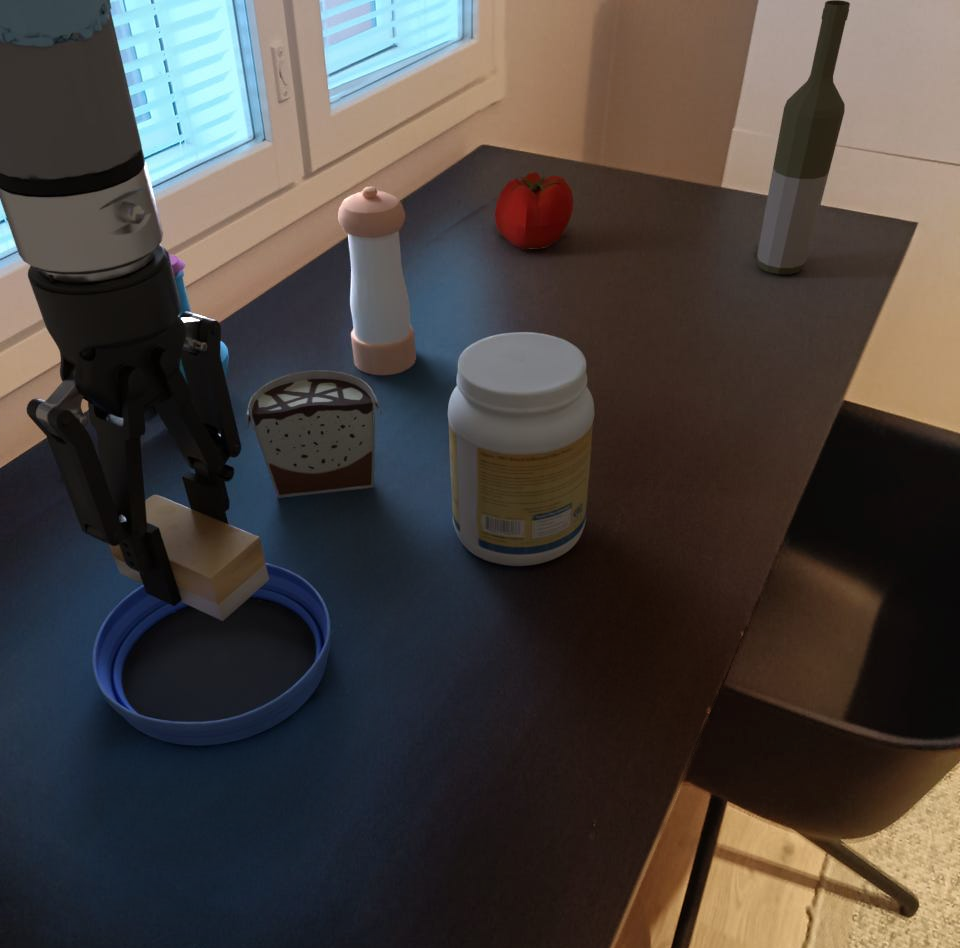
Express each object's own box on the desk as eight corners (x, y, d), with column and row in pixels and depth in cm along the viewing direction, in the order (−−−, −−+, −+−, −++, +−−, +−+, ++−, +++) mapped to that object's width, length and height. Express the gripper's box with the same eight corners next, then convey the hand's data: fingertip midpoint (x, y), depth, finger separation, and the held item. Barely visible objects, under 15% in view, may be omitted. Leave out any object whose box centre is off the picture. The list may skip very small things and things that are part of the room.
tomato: (575, 231, 134) (579, 167, 128) (562, 262, 127) (566, 196, 121) (504, 225, 136) (504, 162, 130) (487, 255, 129) (487, 190, 123)
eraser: (119, 573, 68) (102, 530, 65) (168, 536, 71) (154, 493, 68) (222, 621, 64) (210, 578, 61) (269, 579, 67) (259, 536, 64)
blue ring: (95, 774, 66) (80, 743, 64) (113, 606, 79) (100, 575, 76) (346, 732, 69) (341, 701, 66) (325, 576, 81) (319, 545, 79)
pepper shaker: (347, 350, 110) (327, 180, 96) (407, 340, 111) (394, 171, 98) (361, 380, 105) (341, 205, 91) (423, 369, 107) (412, 195, 93)
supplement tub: (611, 528, 86) (631, 360, 74) (521, 591, 79) (526, 419, 68) (515, 475, 92) (518, 311, 80) (425, 530, 86) (414, 362, 74)
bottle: (766, 281, 122) (824, 11, 101) (743, 260, 127) (794, -2, 105) (815, 275, 123) (882, 7, 102) (791, 254, 128) (850, -6, 107)
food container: (383, 451, 95) (374, 361, 88) (389, 485, 91) (380, 394, 84) (261, 463, 94) (242, 373, 86) (261, 499, 89) (241, 408, 82)
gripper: (7, 339, 44) (138, 671, 60) (257, 211, 55) (310, 523, 71) (-94, 303, 46) (58, 630, 63) (164, 187, 57) (236, 493, 74)
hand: (192, 573), depth 67 cm, fingers closed on eraser, 5 cm apart
